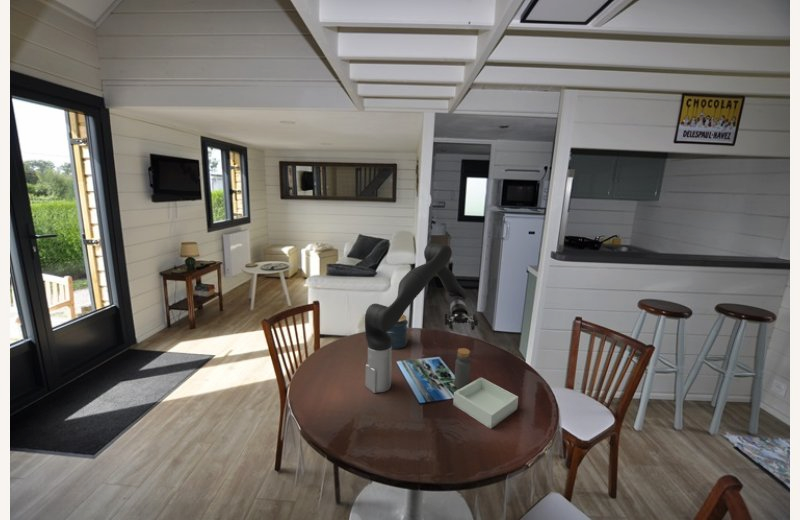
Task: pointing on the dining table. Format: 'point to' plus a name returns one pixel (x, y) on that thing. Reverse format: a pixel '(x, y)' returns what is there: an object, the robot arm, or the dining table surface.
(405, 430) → the dining table surface
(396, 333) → the canister
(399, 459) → the dining table surface
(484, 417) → the bin
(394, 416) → the dining table surface
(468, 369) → the bottle
